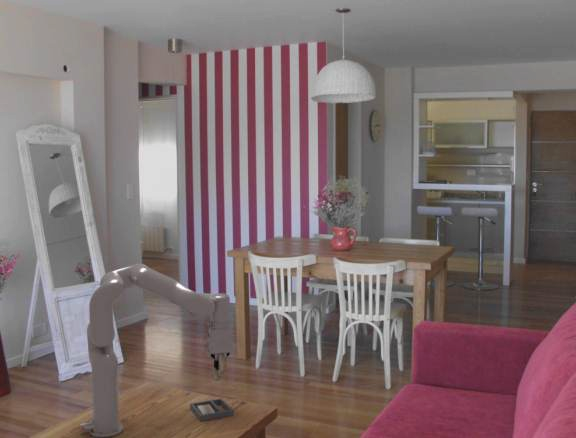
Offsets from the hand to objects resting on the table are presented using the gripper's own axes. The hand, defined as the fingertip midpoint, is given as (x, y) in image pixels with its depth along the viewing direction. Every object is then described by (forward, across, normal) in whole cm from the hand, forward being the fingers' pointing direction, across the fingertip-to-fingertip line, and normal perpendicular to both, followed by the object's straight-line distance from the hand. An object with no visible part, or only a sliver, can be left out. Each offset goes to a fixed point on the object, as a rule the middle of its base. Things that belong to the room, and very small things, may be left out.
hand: (219, 368), depth 266 cm
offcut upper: (+18, -6, 0) cm, 19 cm away
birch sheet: (+3, 0, +5) cm, 6 cm away
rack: (+19, -3, 0) cm, 19 cm away
